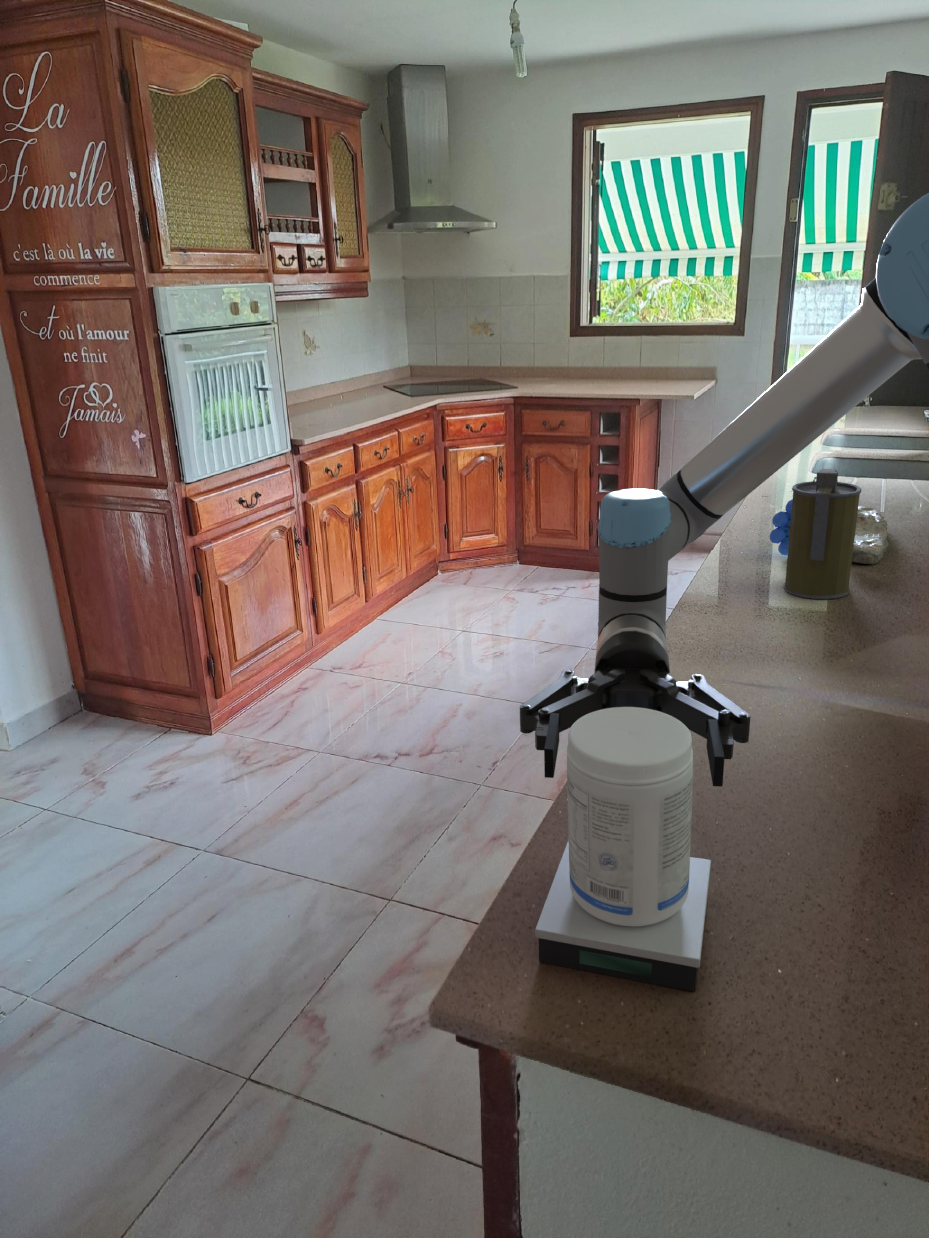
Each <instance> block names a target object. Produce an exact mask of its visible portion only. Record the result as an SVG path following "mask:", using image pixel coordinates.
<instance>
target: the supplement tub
mask: <svg viewBox="0 0 929 1238" xmlns="http://www.w3.org/2000/svg"><path fill="white" fill-rule="evenodd" d="M567 737H568V738H567V746H566V784H567V785H566V786H567V788H566V789H567V790H566V791H567V827H568V828H567V829H568V830H567V832H568V836H567V837H568V839H569V873H570V888H571V891H572V894H573V896H574V898H575V900H576V901H577V902H578V904H579V905H580V906H581V907H582V908H583V909H584V910H585V911H587V912H588V913H589V914H591V915H593V916H594V917H596V918H598V919H600V920H603V921H605V922H609V923H612V924H616V925H622V926H646V925H651V924H655V923H658V922H661V921H663V920H665V919H667V918H669V917H671V916H672V915H674V914H675V913H676V912H678V911H679V910H680V908H681V907H682V906H683V904H684V903H685V901H686V899H687V895H688V891H689V870H690V857H691V844H692V843H691V842H692V840H691V839H692V813H693V788H694V787H693V785H694V782H693V781H694V750H693V740H692V738H693V737H692V734H691V730H689V729H688V728H687V727H686V726H685V725H684V724H683V723H682V722H681V721H679V720H678V719H676V718H674V717H672V716H670V715H668V714H665V713H663V712H659V711H656V710H652V709H646V708H638V707H614V708H607V709H602V710H598V711H594V712H591V713H589V714H586V715H584V716H583V717H581V718H579V719H578V720H577V721H576V722H575V723H574V724H573V725H572V726H571V727H570V728H569V729H568V733H567Z"/></svg>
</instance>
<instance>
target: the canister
mask: <svg viewBox="0 0 929 1238" xmlns="http://www.w3.org/2000/svg"><path fill="white" fill-rule="evenodd" d="M813 478H814V479H812V481H804V482H798V483H795V484H793V485H792V487H791V490H792V499H793V501H792V512H791V524H790V535H789V547H788V555H787V559H786V573H785V581H784V583H783V589H784V591H785V592H787V593H789V594H790V595H793V596H795V597H800V598H804V599H809V598H810V600H826V601H827V600H837V599H842V598H844V597H846V596H848V595H849V594H850V593H851V588H850V579H851V571H852V564H853V562H852V555H853V547H854V538H855V530H856V522H857V513H858V506H860V495H861V493H862V488H861V487H860V486H859V485H856V484H854V483H848V482H842V481H838V480H839V479H838V478H839V470H837V469H836V468H822V469H820V470H818V471H817V472H816V476H814V477H813Z"/></svg>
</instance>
